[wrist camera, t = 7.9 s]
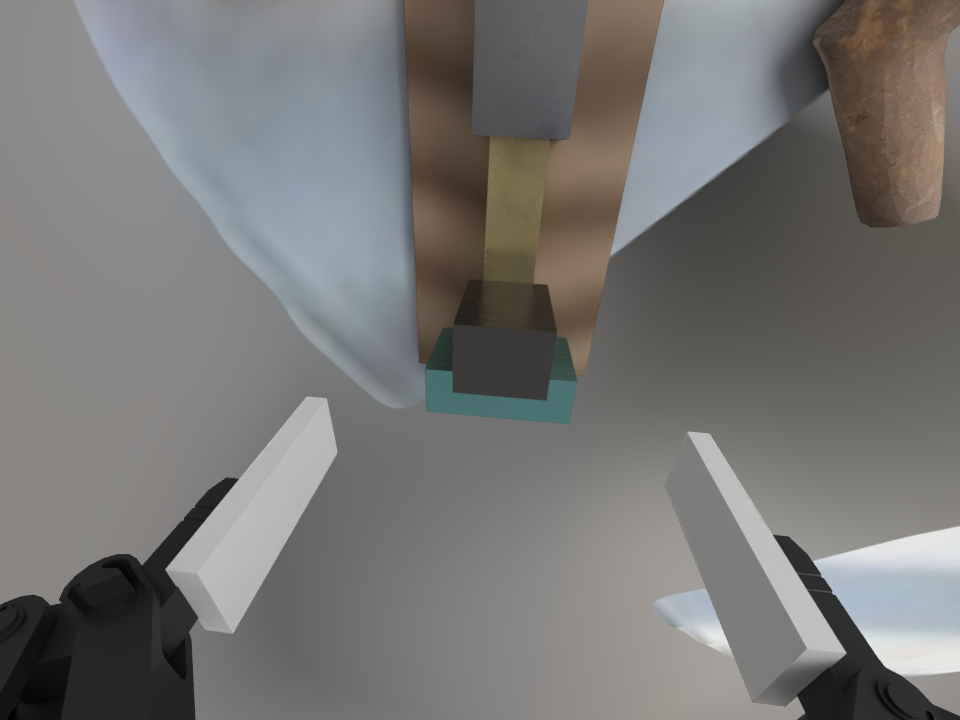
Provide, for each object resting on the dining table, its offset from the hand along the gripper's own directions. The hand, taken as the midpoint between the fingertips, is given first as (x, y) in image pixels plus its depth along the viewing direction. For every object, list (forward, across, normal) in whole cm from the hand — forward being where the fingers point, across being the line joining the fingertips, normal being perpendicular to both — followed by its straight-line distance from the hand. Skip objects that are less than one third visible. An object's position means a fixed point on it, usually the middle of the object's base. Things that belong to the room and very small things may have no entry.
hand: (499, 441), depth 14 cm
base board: (+18, 0, +6) cm, 19 cm away
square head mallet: (+16, 0, +3) cm, 16 cm away
